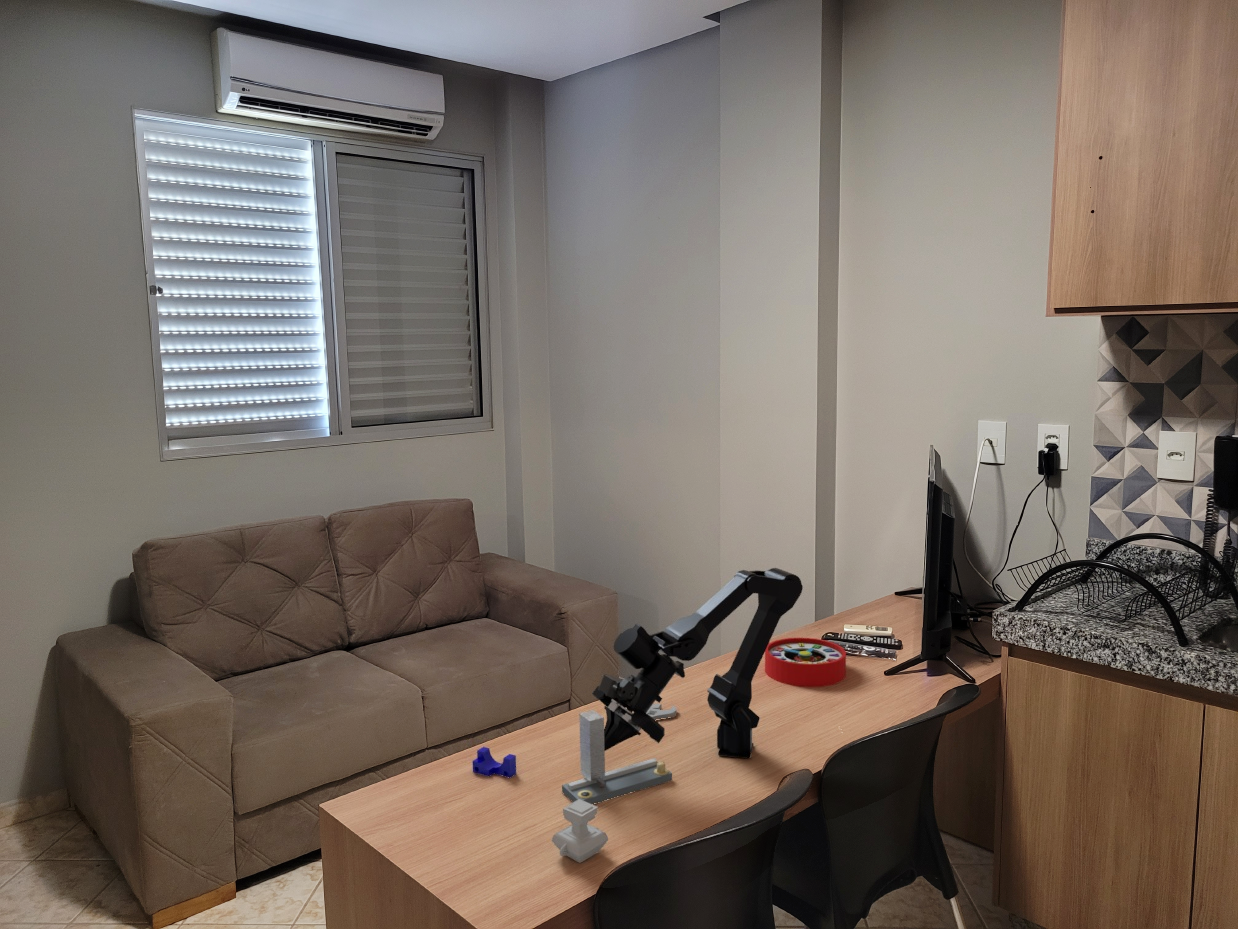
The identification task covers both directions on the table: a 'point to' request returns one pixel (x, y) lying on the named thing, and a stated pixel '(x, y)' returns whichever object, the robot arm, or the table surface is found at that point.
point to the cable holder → (493, 764)
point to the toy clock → (805, 662)
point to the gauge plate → (619, 782)
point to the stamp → (579, 832)
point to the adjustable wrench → (661, 712)
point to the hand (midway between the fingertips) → (600, 750)
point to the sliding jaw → (592, 747)
